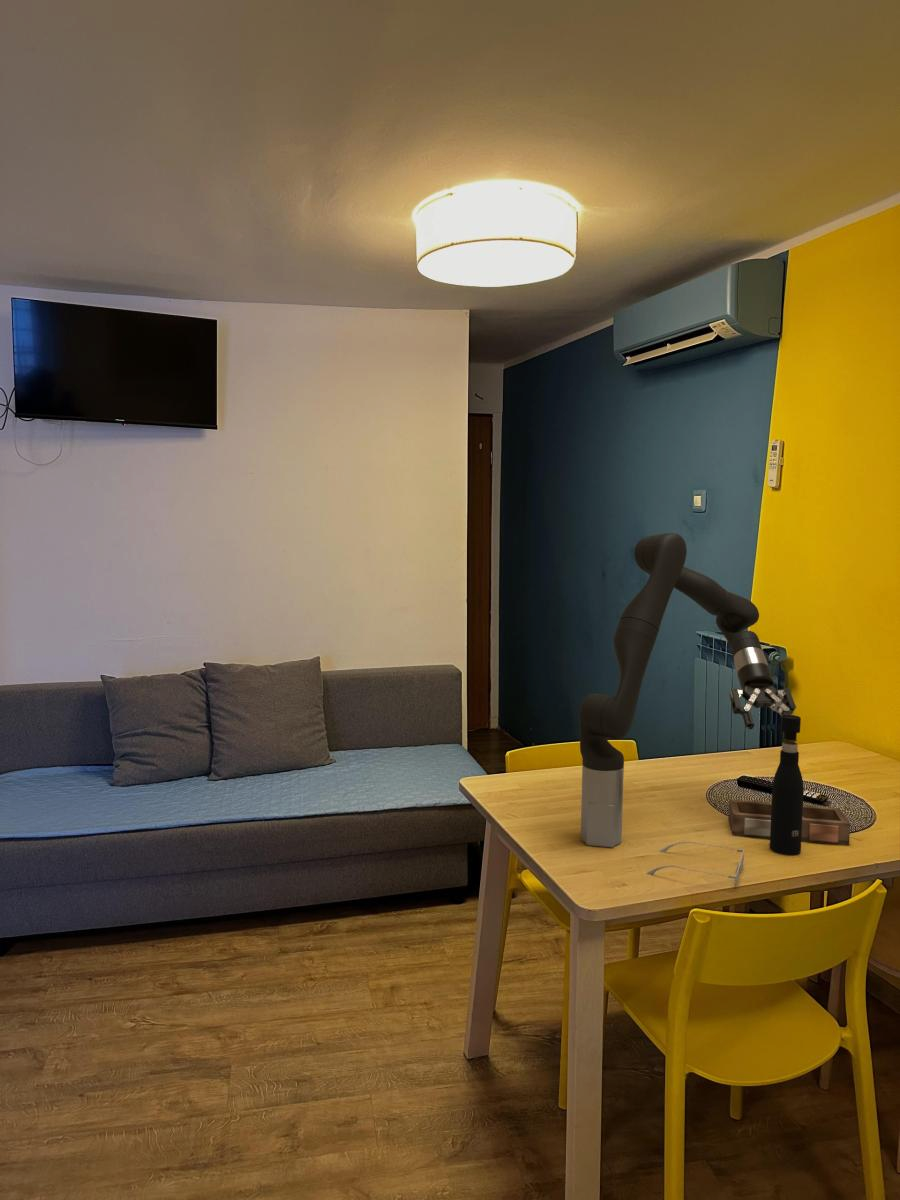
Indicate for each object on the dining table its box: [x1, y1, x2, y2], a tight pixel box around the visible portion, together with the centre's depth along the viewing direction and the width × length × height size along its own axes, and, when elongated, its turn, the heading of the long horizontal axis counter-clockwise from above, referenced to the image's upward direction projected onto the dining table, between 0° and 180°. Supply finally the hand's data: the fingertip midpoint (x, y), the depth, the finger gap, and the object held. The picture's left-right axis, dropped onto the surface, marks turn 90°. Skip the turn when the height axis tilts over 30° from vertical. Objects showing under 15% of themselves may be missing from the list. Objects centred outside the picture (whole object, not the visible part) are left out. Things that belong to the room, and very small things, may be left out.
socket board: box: [727, 799, 851, 846], centre depth 200 cm, size 25×12×5 cm, turn 77°
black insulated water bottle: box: [769, 714, 805, 856], centre depth 188 cm, size 6×6×30 cm
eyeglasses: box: [645, 841, 745, 889], centre depth 179 cm, size 15×18×4 cm
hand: (769, 727), depth 198 cm, fingers open, 8 cm apart
